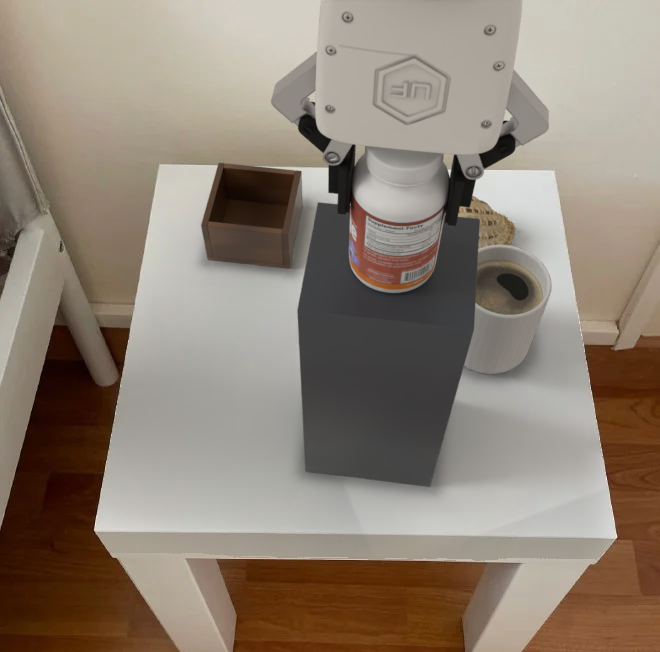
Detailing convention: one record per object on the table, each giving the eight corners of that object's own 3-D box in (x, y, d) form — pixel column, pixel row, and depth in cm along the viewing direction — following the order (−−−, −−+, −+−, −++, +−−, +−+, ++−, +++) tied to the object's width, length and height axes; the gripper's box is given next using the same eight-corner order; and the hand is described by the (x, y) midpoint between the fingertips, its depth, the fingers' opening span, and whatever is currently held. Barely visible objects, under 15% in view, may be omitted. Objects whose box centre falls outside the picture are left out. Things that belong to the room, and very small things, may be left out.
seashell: (478, 225, 97) (408, 212, 92) (507, 189, 92) (436, 173, 88) (499, 274, 93) (428, 264, 88) (530, 239, 89) (457, 226, 84)
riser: (305, 471, 77) (297, 310, 55) (319, 383, 82) (317, 201, 60) (430, 487, 76) (474, 330, 54) (437, 397, 81) (480, 218, 59)
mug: (543, 360, 84) (569, 302, 75) (460, 387, 82) (476, 330, 73) (497, 282, 89) (516, 219, 80) (418, 306, 87) (428, 244, 78)
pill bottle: (363, 219, 59) (371, 93, 49) (445, 241, 58) (469, 116, 48) (336, 283, 56) (338, 162, 46) (421, 307, 55) (442, 188, 45)
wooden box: (207, 259, 90) (200, 225, 85) (223, 198, 95) (218, 162, 90) (290, 268, 90) (288, 234, 85) (302, 206, 94) (301, 170, 89)
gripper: (224, -48, 35) (255, 234, 50) (629, -14, 34) (533, 263, 49) (255, -140, 39) (275, 149, 54) (621, -111, 37) (534, 175, 53)
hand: (398, 201), depth 52 cm, fingers closed on pill bottle, 6 cm apart
